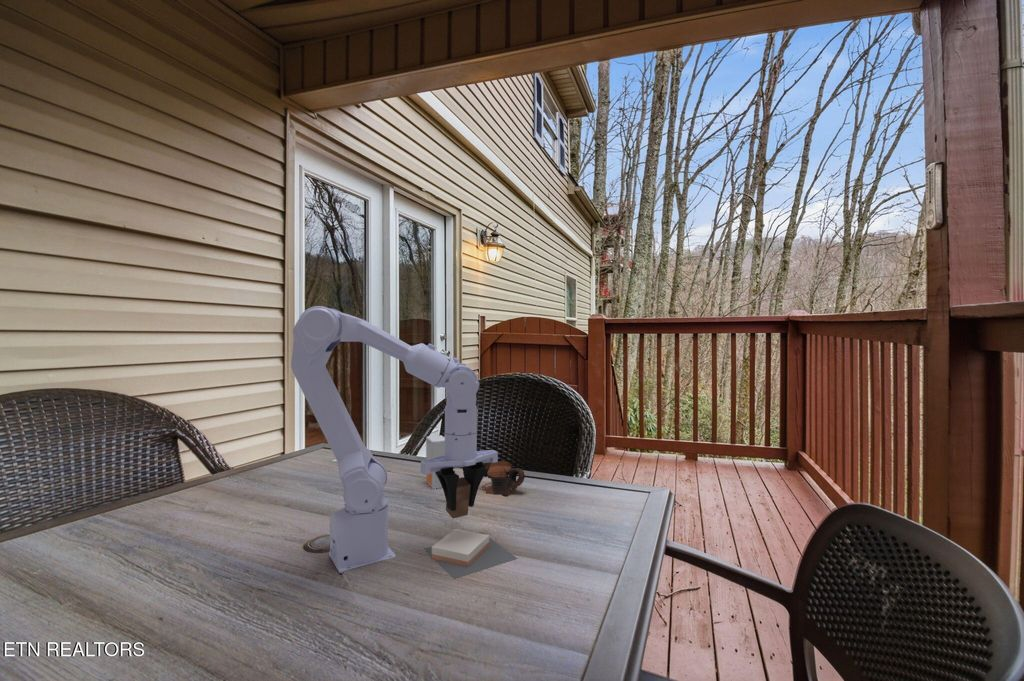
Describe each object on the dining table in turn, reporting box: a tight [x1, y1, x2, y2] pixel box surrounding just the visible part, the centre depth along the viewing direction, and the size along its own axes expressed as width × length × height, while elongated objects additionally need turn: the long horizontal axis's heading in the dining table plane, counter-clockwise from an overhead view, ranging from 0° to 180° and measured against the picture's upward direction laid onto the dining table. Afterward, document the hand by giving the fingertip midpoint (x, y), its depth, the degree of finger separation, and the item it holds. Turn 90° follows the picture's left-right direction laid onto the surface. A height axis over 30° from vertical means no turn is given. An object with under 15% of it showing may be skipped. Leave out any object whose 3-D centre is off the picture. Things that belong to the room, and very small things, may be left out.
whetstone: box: [431, 528, 490, 567], centre depth 82 cm, size 8×2×7 cm
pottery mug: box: [483, 461, 526, 496], centre depth 116 cm, size 12×10×8 cm
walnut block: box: [445, 476, 471, 519], centre depth 86 cm, size 3×3×6 cm
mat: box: [424, 532, 518, 580], centre depth 82 cm, size 12×12×1 cm
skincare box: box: [425, 434, 445, 490], centre depth 120 cm, size 6×4×12 cm
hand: (460, 507), depth 85 cm, fingers closed on walnut block, 3 cm apart
